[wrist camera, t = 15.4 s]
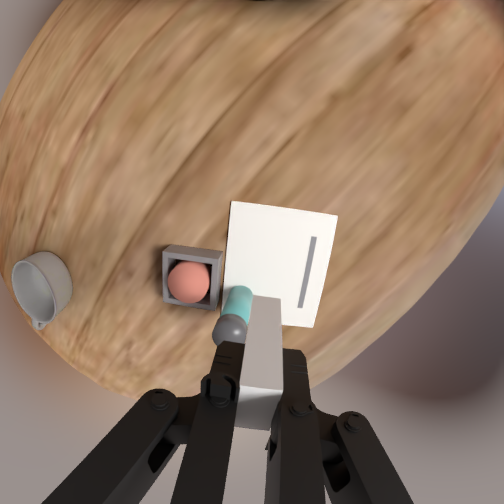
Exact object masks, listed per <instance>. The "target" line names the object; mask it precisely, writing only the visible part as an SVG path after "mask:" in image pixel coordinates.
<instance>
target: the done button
mask: <svg viewBox="0 0 504 504" xmlns="http://www.w3.org/2000/svg"><path fill="white" fill-rule="evenodd" d="M211 277H212V270H211V268H210V266H209V264H208V263H202V262H195V261H188V260H181V261H180V262H179V263H178V264H177V265H176V266H175V268H174V269H173V270H172V271H171V272H170V274H169V276H168V287H169V290H170V292H171V293H172V295H173V296H174V297H175V298H176V299H178V300H179V301H181V302H184V303H196V302H198V301H200V300H201V299H202V298H203V297H204V296H205V294H206V292H207V290H208V288H209V286H210V284H211Z"/></svg>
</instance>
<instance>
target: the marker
mask: <svg viewBox="0 0 504 504" xmlns="http://www.w3.org/2000/svg"><path fill="white" fill-rule="evenodd" d="M252 298H253V293H252V291H251V290H250V289H249V288H248V287H246V286H242V285H239V286H235V287H234V288H232V289H231V291H230V293H229V295H228V298H227V300H226V303H225V305H224V308H223V310H222V313H221V315H220V318H219V319H218V320H217V322H216V325H215V327H214V330H213V332H212V338H213V341H214V343H215V344H216V345H217V346H218V345H219V344H221V343H222V342H223V341H224V340H225V341H230V342H237V343H243V344H244V343H245V340H246V335H247V329H248V328H247V325H248V320H249V316H250V311H251V305H252Z"/></svg>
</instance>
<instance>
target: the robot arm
mask: <svg viewBox="0 0 504 504" xmlns="http://www.w3.org/2000/svg"><path fill="white" fill-rule="evenodd" d="M234 426H235V427H242V428H249V429H258V430H267V431H269V430H270V427H271V435H270V438H269V440H268V443H267V445H266V448H265V450H268V455H267V472H266V488H265V501H264V504H325V488H324V485H325V487H326V490H327V493H328V495H329V498H330V501H331V503H332V504H414V503H413V501H412V500H411V498H410V496H409V494H408V492H407V490H406V488H405V486H404V485H403V483H402V481H401V479H400V477H399V475H398V474H397V472H396V470H395V468H394V466H393V465H392V463H391V461H390V459H389V457H388V455H387V454H386V452H385V450H384V448H383V447H382V445H381V443H380V441H379V439H378V438H377V436H376V434H375V432H374V430H373V428H372V427H371V425H370V423H369V421H368V420H367V419H366V418H365V416H363V415H362V414H360V413H358V412H353V411H349V412H345V413H342V414H341V415H340V416H339V417H337V416H334V415H330V414H326V413H324V412H322V411H320V410H319V409H317V408H316V406H315V404H314V403H313V402H312V401H311V396H310V388H309V379H308V371H307V363H306V357H305V356H304V354H303V353H302V352H301V350H294V349H285V348H282V320H281V299H279V298H272V297H265V296H258V295H253V298H252V305H251V311H250V318H249V324H248V330H247V337H246V343H245V344H243V343H237V342H230V341H225V340H224V341H223V342H222V343H221V344H219V345H218V346H217V349H216V353H215V356H214V360H213V363H212V367H211V370H210V373H209V374H207V375H206V376H204V377H203V379H202V380H201V393H199V394H198V395H195V396H192V397H176V396H175V395H174V394H173V393H171V392H170V391H168V390H165V389H153V390H149V391H148V392H146V393H145V394H144V395H143V396H142V397H141V398H140V399H139V400H138V401H137V402H136V403H135V405H134V406H133V407H132V408H131V409H130V410H129V411H128V412H127V413H126V414H125V415H124V417H123V418H122V419H121V420H120V421H119V422H118V423H117V424H116V425H115V426H114V427H113V429H112V430H111V431H110V432H109V433H108V434H107V435H106V436H105V437H104V438H103V439H102V440H101V441H100V443H99V444H98V445H97V446H96V447H95V448H94V449H93V450H92V451H91V452H90V453H89V454H88V455H87V457H86V458H85V459H84V460H83V461H82V462H81V463H80V464H79V465H78V466H77V467H76V468H75V469H74V470H73V471H72V472H71V473H70V474H69V475H68V477H67V478H66V479H65V480H64V481H63V482H62V483H61V484H60V485H59V486H58V487H57V488H56V489H55V490H54V491H53V492H52V493H51V494H50V495H49V496H48V497H47V498H46V499H45V500H44V501H43V502H42V504H139V502H140V501H141V500H142V498H143V497H144V496H145V494H146V493H147V491H148V490H149V489H150V487H151V486H152V485H153V483H154V482H155V480H156V479H157V477H158V476H159V475H160V473H161V472H162V470H163V469H164V467H165V466H166V464H167V463H168V461H169V460H170V459H171V457H172V456H173V454H174V453H175V451H176V450H177V449H178V447H179V446H180V444H187V446H186V449H185V452H184V456H183V460H182V463H181V467H180V470H179V474H178V478H177V481H176V485H175V488H174V492H173V496H172V499H171V503H170V504H222V501H223V495H224V489H225V482H226V476H227V469H228V463H229V457H230V450H231V443H232V437H233V431H234Z"/></svg>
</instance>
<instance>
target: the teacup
mask: <svg viewBox="0 0 504 504" xmlns="http://www.w3.org/2000/svg"><path fill="white" fill-rule="evenodd" d="M11 279H12V286H13V290H14V293H15V296H16V298H17V300H18V302H19V304H20V305H21V307H22V308H23V310H24V311H25V312H26V313H27V314H28V315H29V316H30V317H31V318H32V326H33V327H34V328H35V329H37V330H41V329H43V328H44V327H45V325H46V324H47V323H50V322H52V321H53V320H54V318H55V317H56V316H57V315H58V314H59V313H60V312H61V311H62V310H63V309H64V308H65V307H66V305H67V304H68V303H69V301H70V299H71V296H72V290H73V287H72V280H71V276H70V273H69V271H68V269H67V267H66V266H65V264H64V263H63V262H62V260H61V259H60V258H59V257H57V256H56V255H55V254H53V253H50V252H46V251H42V252H38V253H35V254H33V255H31V256H29V257H27V258H25V259H23V260H20V261H18V262H17V263H16V264H15V265H14V267H13V270H12V275H11Z"/></svg>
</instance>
